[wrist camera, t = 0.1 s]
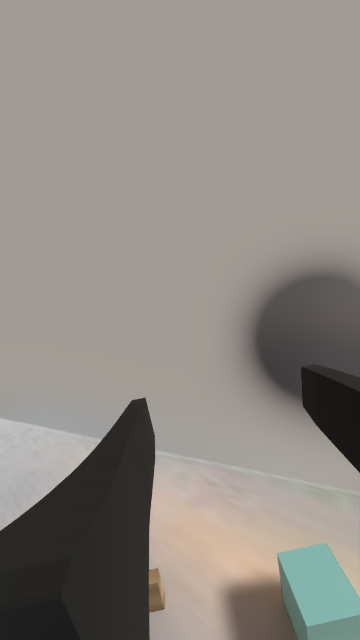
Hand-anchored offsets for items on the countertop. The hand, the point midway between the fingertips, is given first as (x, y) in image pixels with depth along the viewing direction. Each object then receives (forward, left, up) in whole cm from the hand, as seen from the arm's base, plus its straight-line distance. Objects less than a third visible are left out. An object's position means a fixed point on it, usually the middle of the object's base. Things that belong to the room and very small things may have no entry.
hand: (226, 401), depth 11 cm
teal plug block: (+3, -5, -22) cm, 22 cm away
